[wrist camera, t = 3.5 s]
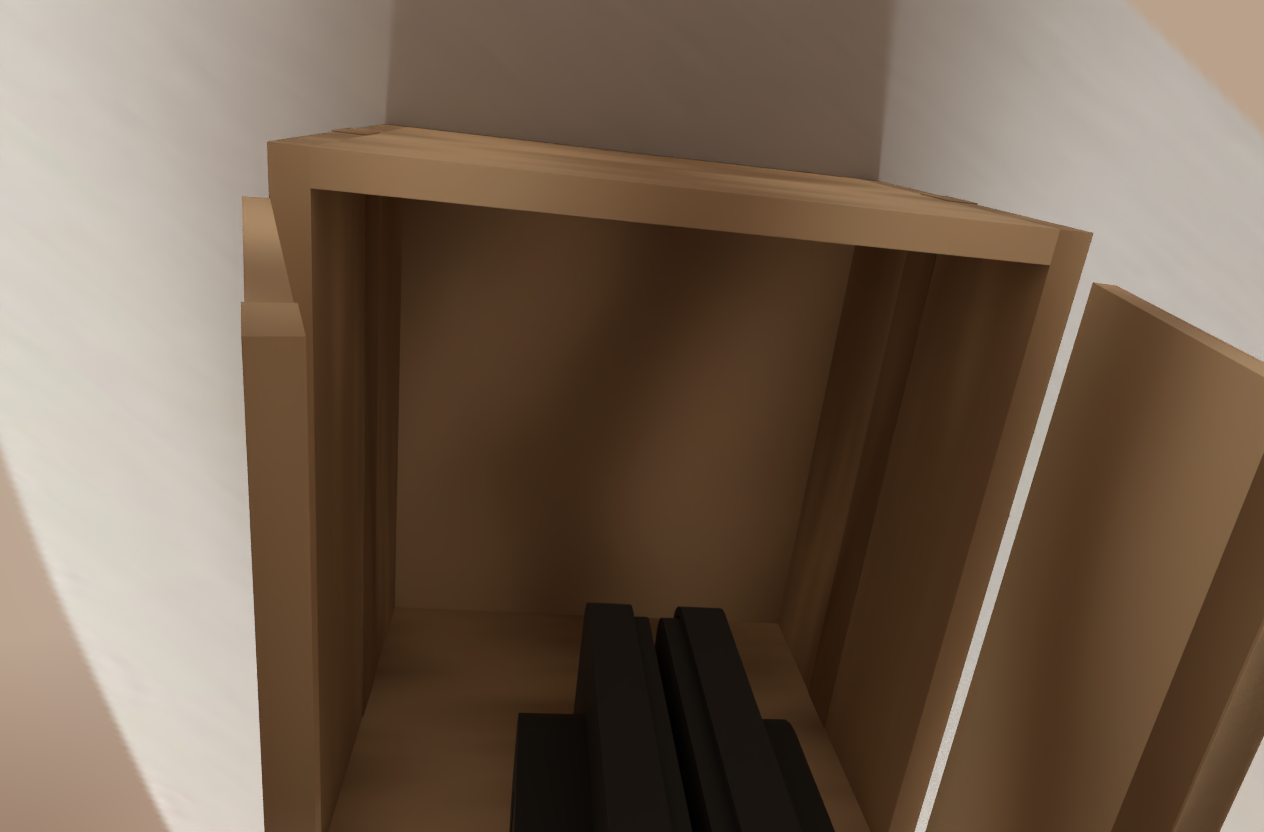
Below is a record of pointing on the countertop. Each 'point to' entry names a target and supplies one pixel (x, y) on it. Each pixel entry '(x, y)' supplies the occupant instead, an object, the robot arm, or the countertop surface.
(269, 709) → the flap
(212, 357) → the countertop surface
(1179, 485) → the flap
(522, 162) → the wooden open box
